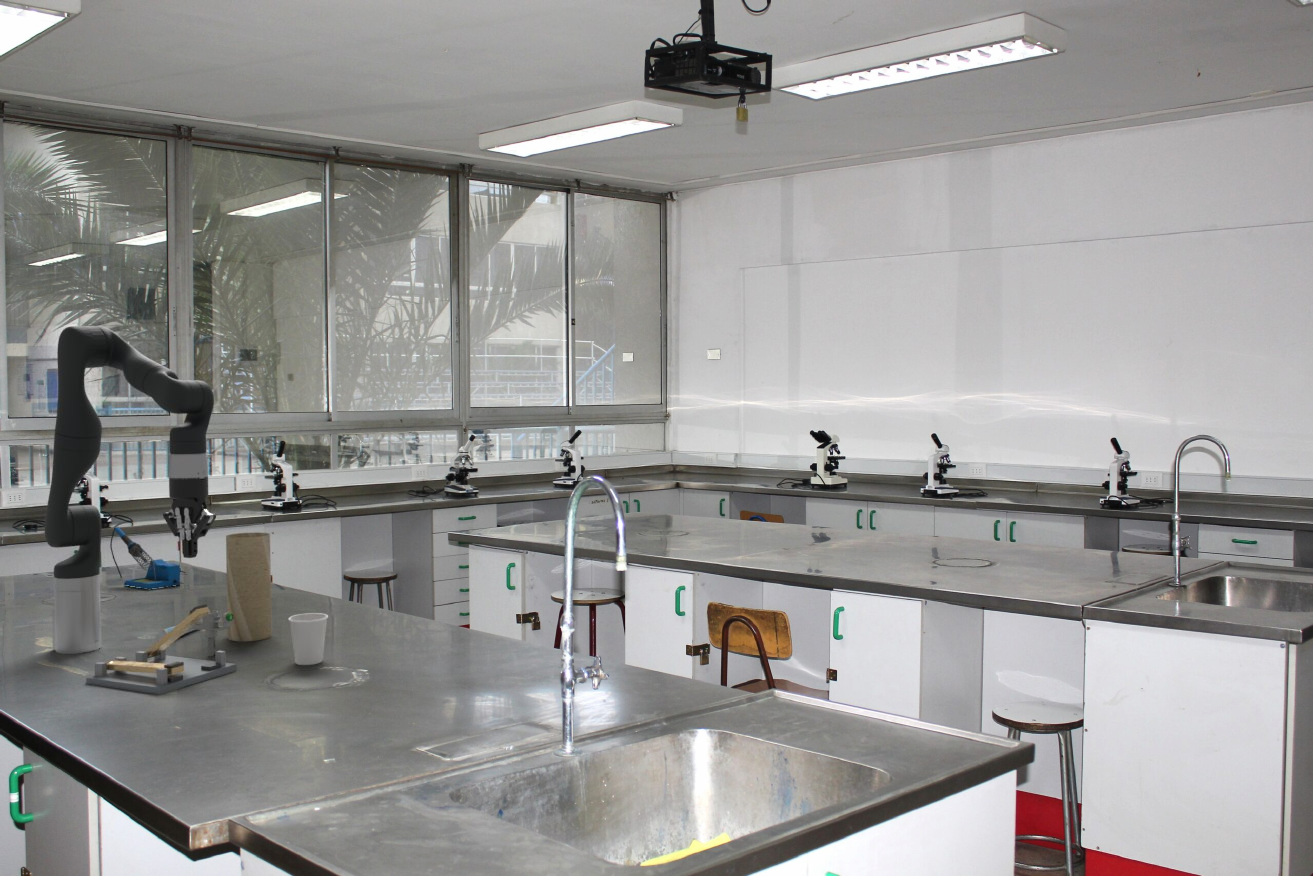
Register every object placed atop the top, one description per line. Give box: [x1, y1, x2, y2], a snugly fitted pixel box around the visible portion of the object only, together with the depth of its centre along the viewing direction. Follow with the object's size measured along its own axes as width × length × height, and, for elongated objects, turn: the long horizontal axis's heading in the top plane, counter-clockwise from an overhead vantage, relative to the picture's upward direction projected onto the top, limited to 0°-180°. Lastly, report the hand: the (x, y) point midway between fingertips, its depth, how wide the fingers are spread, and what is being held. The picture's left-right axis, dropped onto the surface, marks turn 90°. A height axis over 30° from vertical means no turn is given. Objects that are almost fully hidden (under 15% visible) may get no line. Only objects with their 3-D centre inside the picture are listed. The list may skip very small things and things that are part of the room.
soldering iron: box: [109, 526, 186, 589], centre depth 337 cm, size 35×31×18 cm
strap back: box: [145, 604, 211, 660], centre depth 223 cm, size 19×3×2 cm
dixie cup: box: [288, 612, 329, 666], centre depth 231 cm, size 8×8×10 cm
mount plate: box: [85, 648, 237, 695], centre depth 218 cm, size 20×20×4 cm
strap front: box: [106, 659, 184, 675], centre depth 213 cm, size 19×3×2 cm, turn 68°
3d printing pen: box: [156, 625, 196, 642], centre depth 257 cm, size 19×3×3 cm, turn 174°
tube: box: [225, 532, 273, 642], centre depth 255 cm, size 10×10×25 cm
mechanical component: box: [188, 610, 233, 657], centre depth 236 cm, size 3×10×10 cm, turn 79°
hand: (190, 557), depth 221 cm, fingers closed
